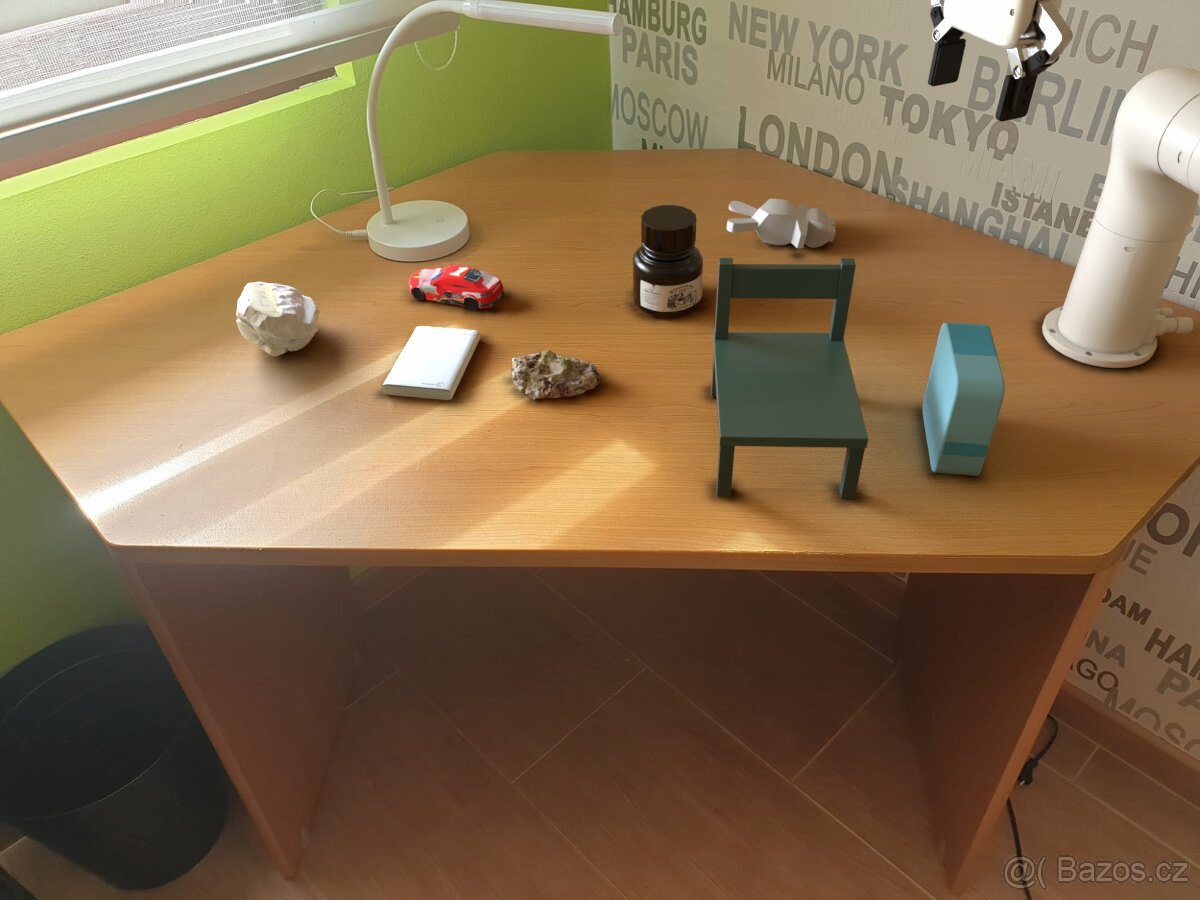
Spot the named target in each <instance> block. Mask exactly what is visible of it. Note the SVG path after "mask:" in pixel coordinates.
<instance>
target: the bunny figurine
mask: <svg viewBox="0 0 1200 900" xmlns="http://www.w3.org/2000/svg"><path fill="white" fill-rule="evenodd" d="M728 210H729V211H730V212H733V213H737V214H740V215H744V216H746V217H747V216H748V217H747V218H746V217H732V218H728V219H727V222H726V230H727V232H730V233H731V234H738V233H744V232H749V231H750V232H751V231H755V232H756V233H757V236H758V237H759V239H760V240H761V242H762V243H764V244H769V245H773V246H785V245H788V244H792V245H793V246H794V247H795V248H796V249H804V247H805V245H806V246H807V247H809V248H814V249H815V248H819V247H822V246H824V245H825V244H827V243H828V242H831V243H833V242H834V239H835V236H836V220H835V219H834V218H830V216H829V215H828V213H827V212H826V211H824V210H823V209H821V208H817V207H812V208H810V209H809V208H808V207H807V204H804V203H801V202H800V203H799V204H797V205H796V204H795V203H793V202H792V201H791V200H786V199H783V198H782V199H781V198H769V199H767V200H766V201H765V202H764V203H763V204H762V205H761V206H760V207H759V208H756V207H754V206H753V205H749V204H747V203H744V202H742V201H740V200H732V201H730V202H729V203H728Z"/></svg>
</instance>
